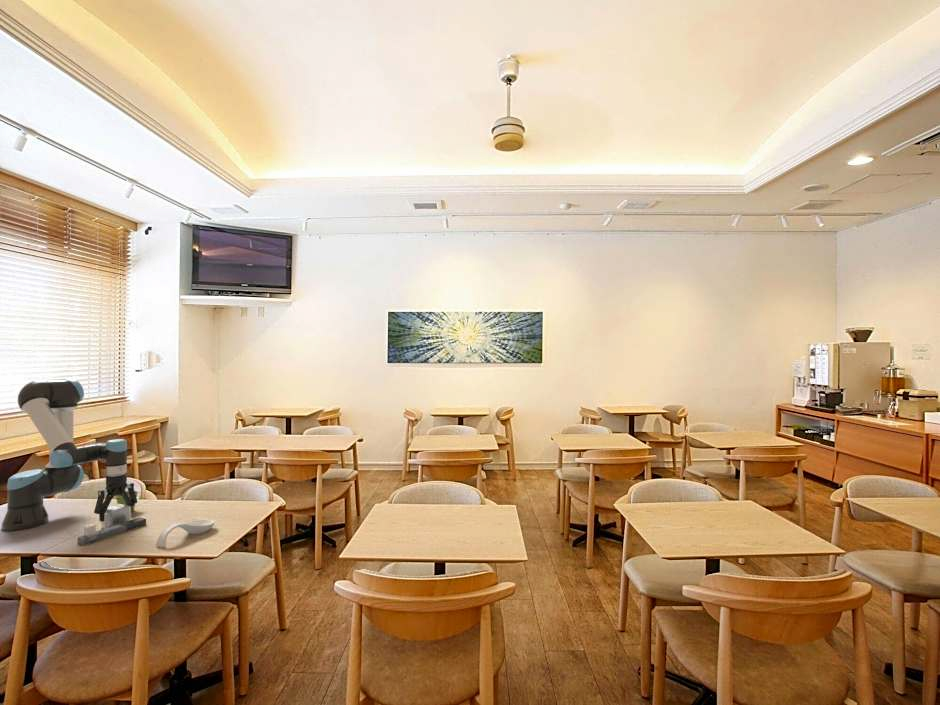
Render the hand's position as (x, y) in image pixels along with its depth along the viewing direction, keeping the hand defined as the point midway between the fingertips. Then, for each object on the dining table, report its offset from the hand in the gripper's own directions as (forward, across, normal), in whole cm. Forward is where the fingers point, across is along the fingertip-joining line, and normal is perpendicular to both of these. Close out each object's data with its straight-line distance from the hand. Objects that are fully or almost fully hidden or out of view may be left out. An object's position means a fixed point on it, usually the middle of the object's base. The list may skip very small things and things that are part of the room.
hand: (116, 524), depth 206 cm
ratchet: (0, -7, -10) cm, 12 cm away
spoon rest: (+1, +2, -42) cm, 42 cm away
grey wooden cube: (0, 0, 0) cm, 0 cm away
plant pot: (0, +13, +14) cm, 19 cm away
